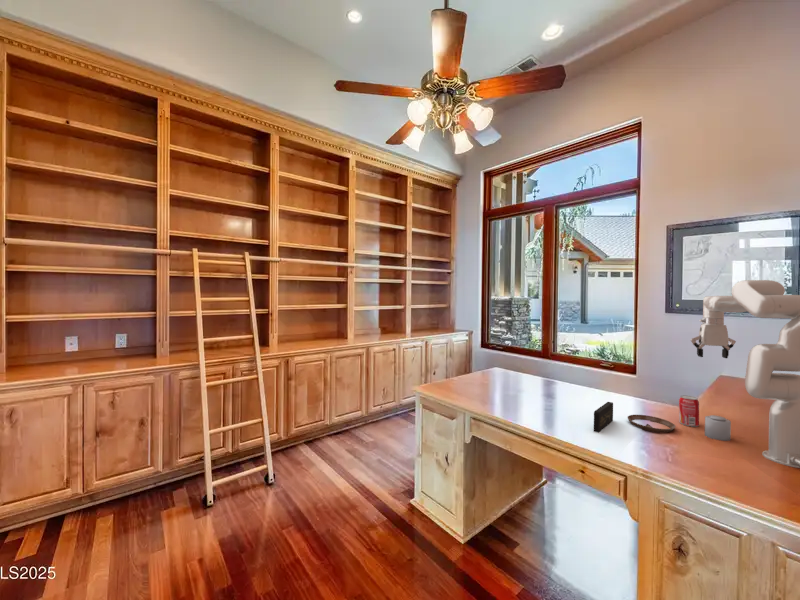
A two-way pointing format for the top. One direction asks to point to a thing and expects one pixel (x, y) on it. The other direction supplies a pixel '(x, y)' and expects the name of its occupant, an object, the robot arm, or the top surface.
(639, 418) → the plant saucer
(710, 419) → the grey ceramic cup
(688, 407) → the soda can
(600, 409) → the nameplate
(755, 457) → the top surface
